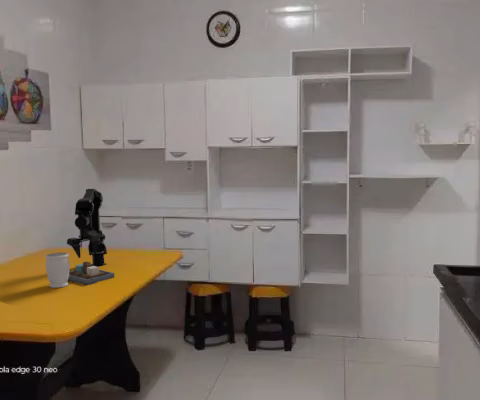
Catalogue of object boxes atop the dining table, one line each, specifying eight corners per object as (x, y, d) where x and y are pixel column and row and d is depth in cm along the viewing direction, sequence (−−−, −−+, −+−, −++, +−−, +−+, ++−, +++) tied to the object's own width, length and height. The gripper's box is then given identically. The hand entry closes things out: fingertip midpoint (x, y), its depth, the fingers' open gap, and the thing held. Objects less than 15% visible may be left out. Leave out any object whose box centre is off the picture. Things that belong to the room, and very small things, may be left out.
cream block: (87, 275, 245) (86, 267, 244) (93, 273, 248) (93, 265, 247) (92, 276, 242) (91, 268, 242) (99, 274, 245) (98, 266, 245)
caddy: (70, 275, 250) (69, 261, 249) (83, 271, 256) (82, 258, 256) (91, 280, 239) (90, 266, 238) (105, 276, 245) (104, 262, 245)
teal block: (76, 273, 250) (75, 265, 250) (83, 271, 253) (82, 263, 253) (80, 274, 248) (80, 266, 247) (87, 272, 251) (87, 264, 250)
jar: (75, 283, 238) (73, 252, 237) (61, 289, 228) (59, 257, 227) (57, 282, 242) (55, 251, 240) (42, 287, 232) (40, 256, 230)
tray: (60, 278, 249) (60, 273, 248) (87, 271, 261) (87, 267, 261) (87, 285, 235) (87, 279, 234) (114, 277, 247) (114, 272, 247)
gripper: (78, 229, 234) (80, 261, 235) (111, 223, 248) (112, 254, 250) (65, 227, 241) (67, 259, 242) (97, 222, 255) (99, 252, 257)
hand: (87, 256), depth 248 cm, fingers open, 9 cm apart
